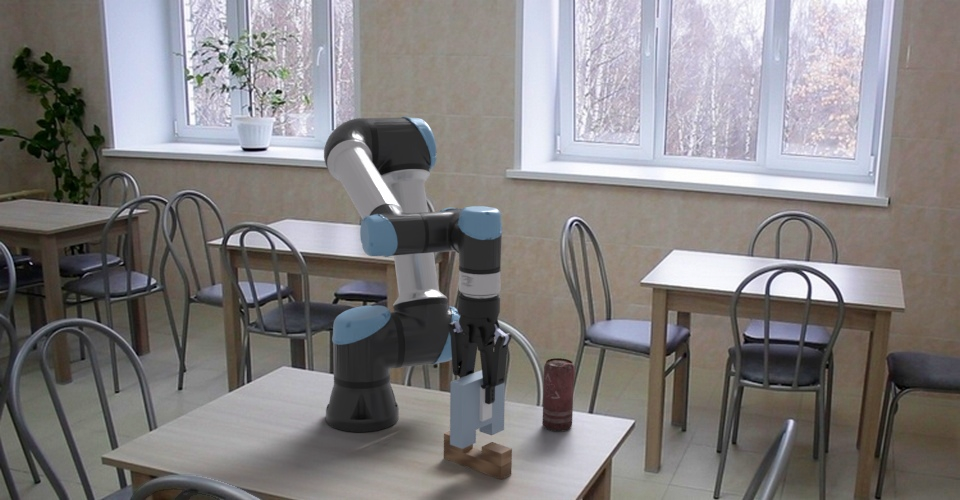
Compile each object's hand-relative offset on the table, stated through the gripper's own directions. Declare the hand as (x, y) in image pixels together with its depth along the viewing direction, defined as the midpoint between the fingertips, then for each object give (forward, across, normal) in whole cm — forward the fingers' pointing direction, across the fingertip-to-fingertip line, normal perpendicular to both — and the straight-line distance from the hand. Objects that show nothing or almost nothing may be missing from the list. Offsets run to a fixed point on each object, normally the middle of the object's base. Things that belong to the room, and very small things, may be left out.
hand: (477, 416), depth 181 cm
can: (+10, 0, +26) cm, 28 cm away
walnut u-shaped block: (+10, 0, 0) cm, 10 cm away
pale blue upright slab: (+4, 0, 0) cm, 4 cm away
